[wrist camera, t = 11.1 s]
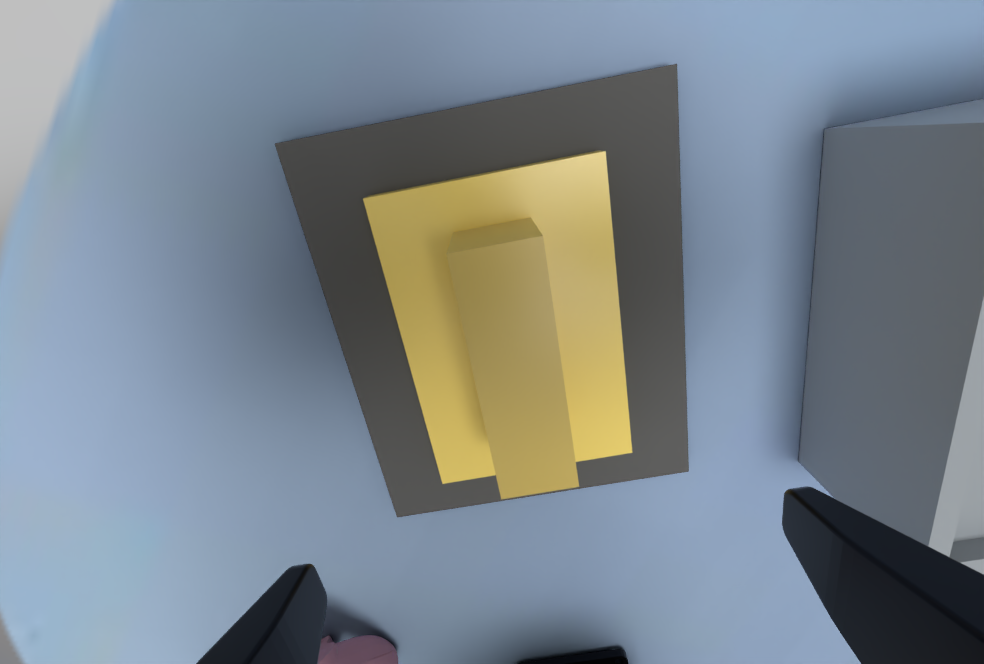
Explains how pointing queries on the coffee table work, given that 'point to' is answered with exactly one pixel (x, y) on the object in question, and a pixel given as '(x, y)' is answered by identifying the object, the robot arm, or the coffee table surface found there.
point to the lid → (510, 319)
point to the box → (901, 326)
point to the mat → (480, 149)
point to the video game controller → (357, 651)
